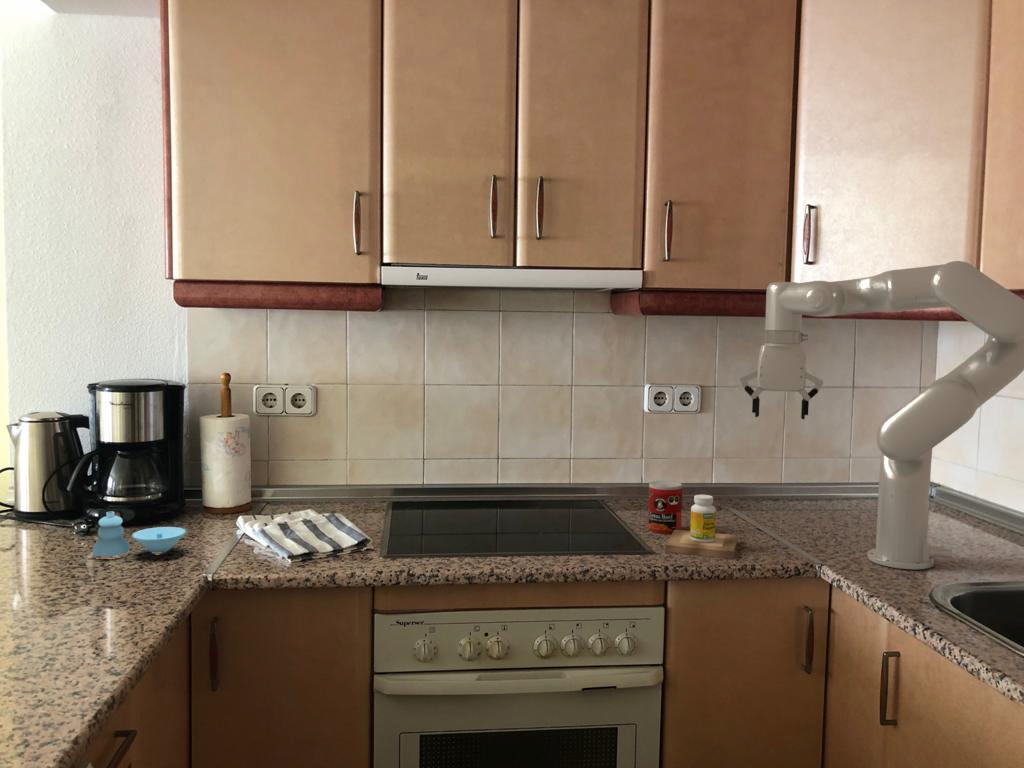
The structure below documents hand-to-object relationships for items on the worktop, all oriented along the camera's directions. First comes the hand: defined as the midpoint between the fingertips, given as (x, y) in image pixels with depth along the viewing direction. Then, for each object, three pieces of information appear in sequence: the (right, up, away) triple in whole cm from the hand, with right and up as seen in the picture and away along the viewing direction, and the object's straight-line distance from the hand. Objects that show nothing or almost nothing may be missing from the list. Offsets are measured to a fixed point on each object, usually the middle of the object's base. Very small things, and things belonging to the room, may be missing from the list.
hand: (779, 417), depth 191 cm
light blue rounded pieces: (-135, -28, -11) cm, 139 cm away
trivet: (-17, -28, -1) cm, 33 cm away
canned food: (-23, -27, +14) cm, 38 cm away
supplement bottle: (-17, -27, -1) cm, 32 cm away
